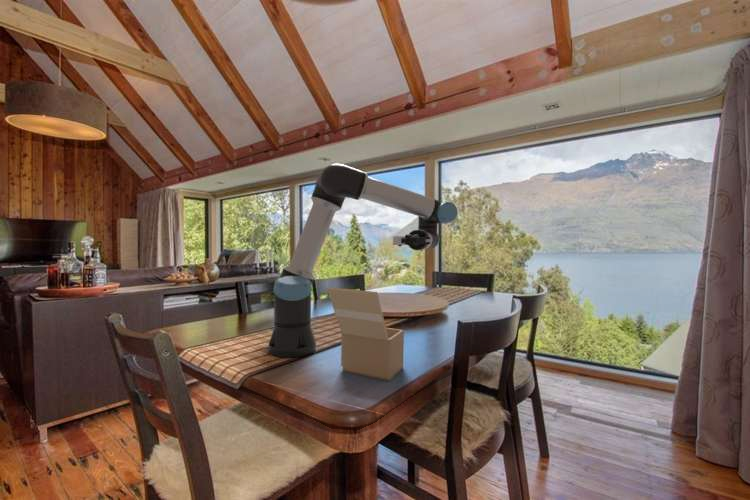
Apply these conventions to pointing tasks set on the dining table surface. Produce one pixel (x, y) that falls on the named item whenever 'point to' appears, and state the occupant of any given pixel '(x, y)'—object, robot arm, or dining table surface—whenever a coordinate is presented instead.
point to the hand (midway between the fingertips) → (395, 240)
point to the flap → (358, 312)
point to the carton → (373, 355)
